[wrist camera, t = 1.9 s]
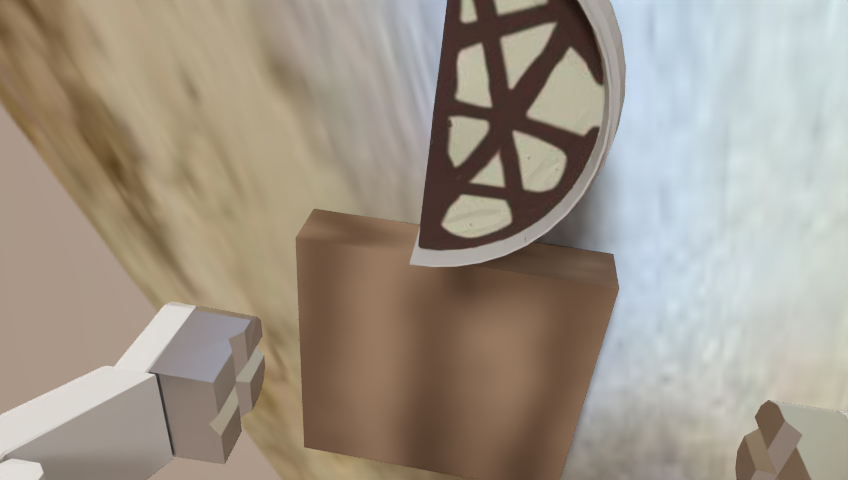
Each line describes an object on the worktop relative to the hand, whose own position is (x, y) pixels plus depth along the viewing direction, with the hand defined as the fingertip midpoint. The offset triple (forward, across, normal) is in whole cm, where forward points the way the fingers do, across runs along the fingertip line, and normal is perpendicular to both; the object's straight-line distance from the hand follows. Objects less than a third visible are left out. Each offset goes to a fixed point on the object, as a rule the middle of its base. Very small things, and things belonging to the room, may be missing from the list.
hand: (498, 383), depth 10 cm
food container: (+21, 0, 0) cm, 21 cm away
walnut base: (+21, +2, +18) cm, 27 cm away
